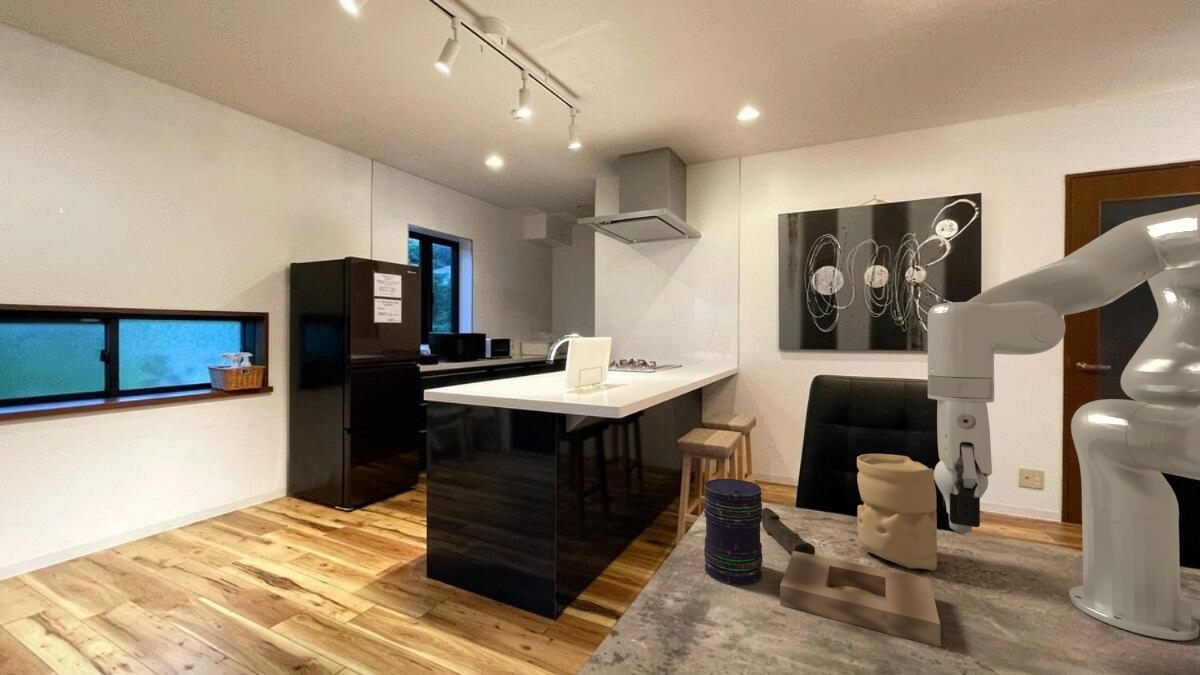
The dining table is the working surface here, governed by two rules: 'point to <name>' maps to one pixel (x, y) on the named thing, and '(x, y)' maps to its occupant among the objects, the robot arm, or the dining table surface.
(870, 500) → the container
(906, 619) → the holder
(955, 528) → the lightbulb
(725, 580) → the navy ridged cylinder
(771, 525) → the hand tool
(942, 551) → the dining table surface
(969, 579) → the dining table surface
